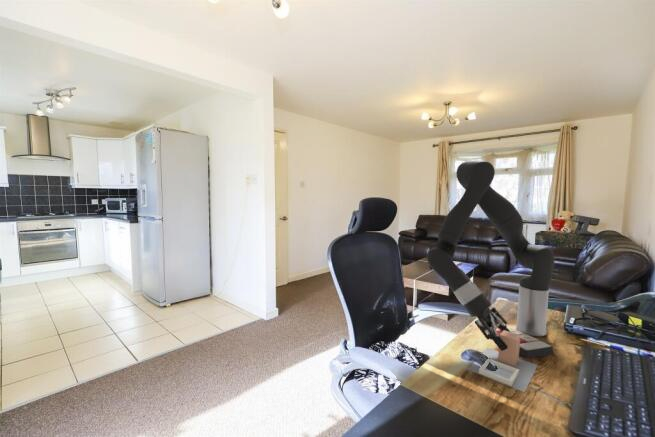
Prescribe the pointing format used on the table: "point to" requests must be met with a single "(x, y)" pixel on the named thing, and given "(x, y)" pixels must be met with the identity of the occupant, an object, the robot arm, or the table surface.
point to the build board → (506, 371)
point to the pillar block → (510, 348)
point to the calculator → (531, 345)
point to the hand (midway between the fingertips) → (508, 344)
